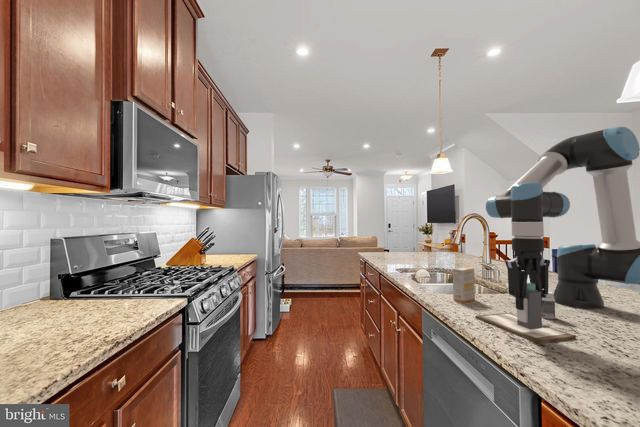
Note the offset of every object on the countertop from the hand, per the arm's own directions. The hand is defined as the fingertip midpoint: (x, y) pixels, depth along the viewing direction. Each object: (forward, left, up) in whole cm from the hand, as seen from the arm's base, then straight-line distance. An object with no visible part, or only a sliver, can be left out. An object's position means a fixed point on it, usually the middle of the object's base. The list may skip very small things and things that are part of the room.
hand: (529, 320), depth 85 cm
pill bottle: (-21, -12, -4) cm, 25 cm away
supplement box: (-10, -38, -4) cm, 40 cm away
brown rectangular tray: (-4, -6, -4) cm, 8 cm away
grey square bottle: (0, 0, -2) cm, 2 cm away
